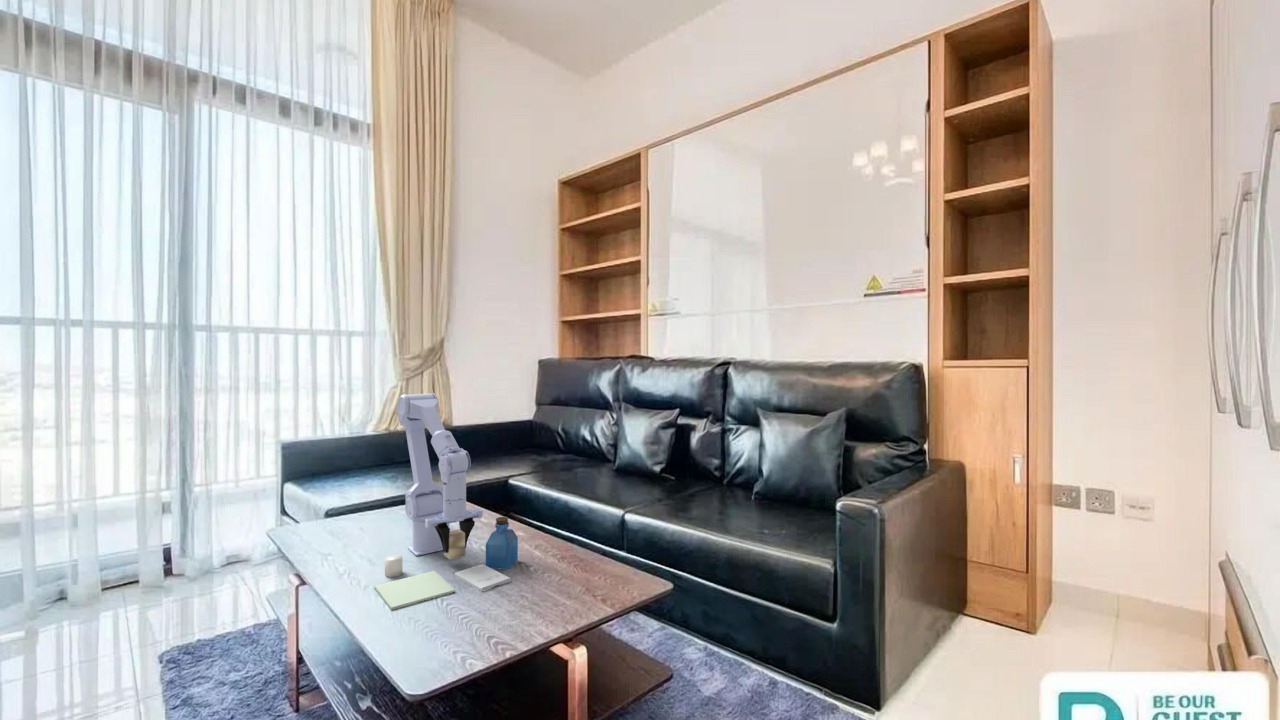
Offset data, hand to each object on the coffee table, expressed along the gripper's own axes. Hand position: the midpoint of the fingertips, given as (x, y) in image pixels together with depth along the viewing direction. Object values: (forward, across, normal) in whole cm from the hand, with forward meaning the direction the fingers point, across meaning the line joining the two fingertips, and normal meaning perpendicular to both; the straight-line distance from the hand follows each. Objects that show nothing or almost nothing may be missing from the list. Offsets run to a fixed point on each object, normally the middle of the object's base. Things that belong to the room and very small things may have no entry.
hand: (454, 549), depth 143 cm
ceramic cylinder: (+4, -14, +4) cm, 15 cm away
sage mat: (+4, -13, -9) cm, 16 cm away
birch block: (+2, 0, 0) cm, 2 cm away
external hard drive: (+5, +2, -13) cm, 14 cm away
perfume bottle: (+4, +10, -7) cm, 13 cm away
